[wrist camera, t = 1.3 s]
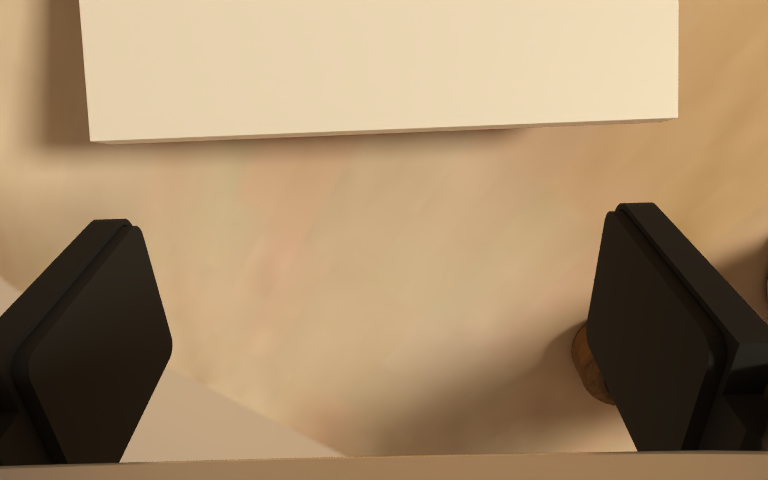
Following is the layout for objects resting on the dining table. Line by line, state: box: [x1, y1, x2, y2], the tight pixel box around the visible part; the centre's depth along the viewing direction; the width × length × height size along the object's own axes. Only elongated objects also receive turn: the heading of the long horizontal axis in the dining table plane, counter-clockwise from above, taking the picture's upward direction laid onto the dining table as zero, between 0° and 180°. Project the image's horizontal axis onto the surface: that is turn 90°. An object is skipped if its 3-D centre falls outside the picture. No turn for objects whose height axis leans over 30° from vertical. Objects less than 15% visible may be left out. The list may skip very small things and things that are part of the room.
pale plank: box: [79, 0, 678, 144], centre depth 24 cm, size 9×24×2 cm, turn 92°
